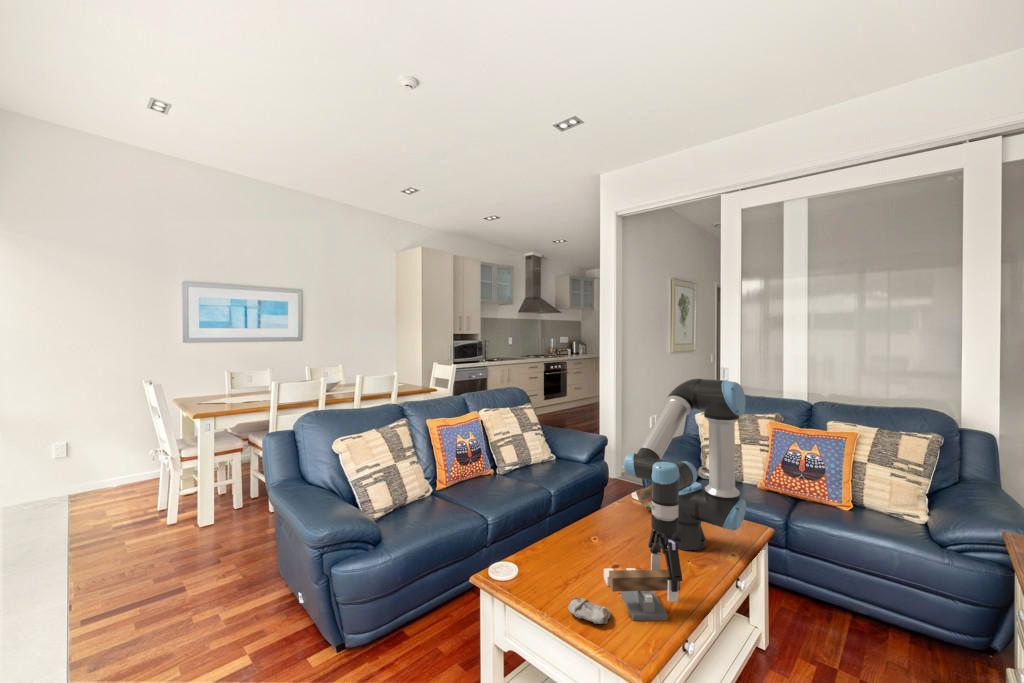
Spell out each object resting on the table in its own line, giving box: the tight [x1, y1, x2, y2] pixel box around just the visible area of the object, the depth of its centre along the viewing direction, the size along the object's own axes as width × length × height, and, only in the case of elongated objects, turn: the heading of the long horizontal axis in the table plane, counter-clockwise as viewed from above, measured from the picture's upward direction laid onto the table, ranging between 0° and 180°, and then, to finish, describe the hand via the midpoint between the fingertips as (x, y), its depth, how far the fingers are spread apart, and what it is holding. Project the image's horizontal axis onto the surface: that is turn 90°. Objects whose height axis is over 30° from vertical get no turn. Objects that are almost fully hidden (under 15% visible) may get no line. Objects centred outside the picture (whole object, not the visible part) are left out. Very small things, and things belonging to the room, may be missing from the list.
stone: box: [567, 597, 612, 625], centre depth 126 cm, size 12×9×3 cm
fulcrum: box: [620, 591, 669, 621], centre depth 130 cm, size 10×12×6 cm
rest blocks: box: [603, 567, 637, 587], centre depth 143 cm, size 10×5×3 cm, turn 92°
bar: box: [609, 569, 681, 592], centre depth 130 cm, size 20×4×4 cm, turn 92°
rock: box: [635, 484, 652, 512], centre depth 202 cm, size 12×12×10 cm
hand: (663, 587), depth 130 cm, fingers open, 13 cm apart
